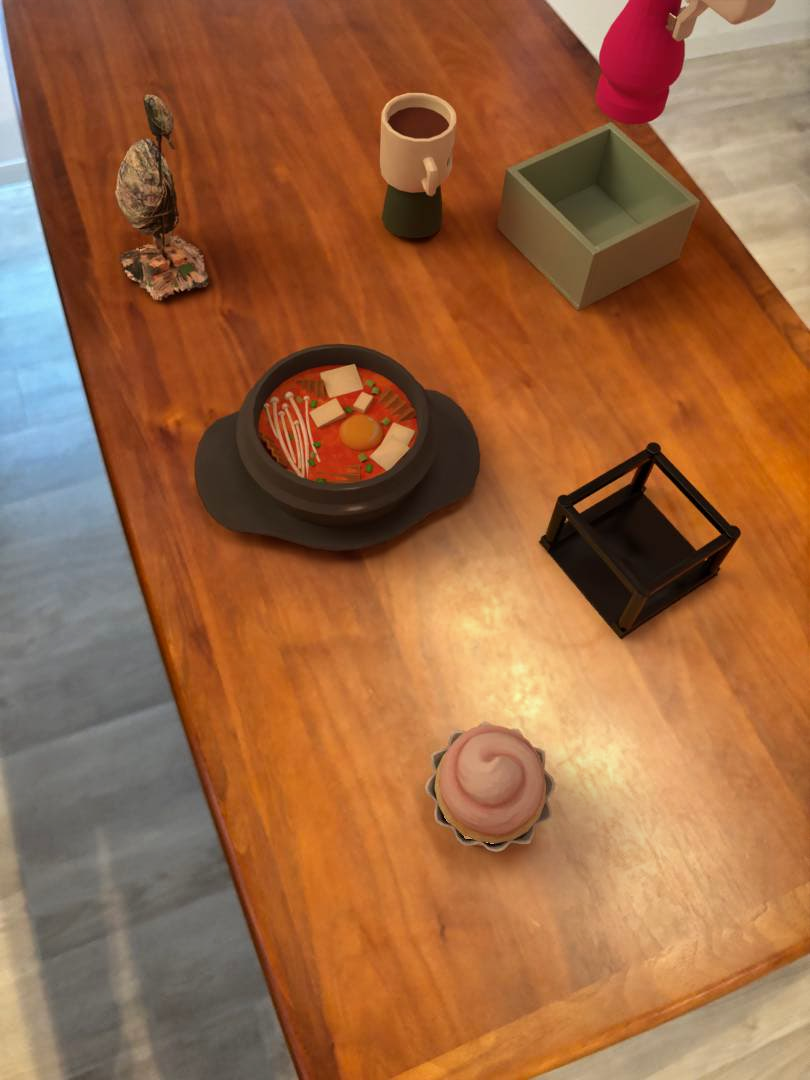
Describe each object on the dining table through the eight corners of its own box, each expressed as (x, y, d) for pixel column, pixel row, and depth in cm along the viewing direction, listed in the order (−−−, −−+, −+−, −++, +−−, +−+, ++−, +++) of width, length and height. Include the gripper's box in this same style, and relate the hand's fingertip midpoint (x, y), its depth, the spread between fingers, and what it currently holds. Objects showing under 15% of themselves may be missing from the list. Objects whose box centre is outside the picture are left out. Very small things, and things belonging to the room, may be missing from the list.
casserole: (208, 583, 83) (194, 532, 76) (187, 405, 92) (173, 344, 85) (499, 538, 87) (513, 485, 79) (452, 371, 96) (461, 309, 88)
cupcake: (537, 740, 78) (560, 693, 69) (551, 864, 73) (578, 831, 65) (417, 743, 77) (425, 697, 69) (423, 868, 73) (433, 835, 64)
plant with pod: (191, 216, 104) (159, 37, 87) (215, 295, 99) (186, 121, 82) (112, 231, 103) (63, 52, 85) (133, 312, 97) (85, 138, 80)
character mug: (459, 254, 103) (473, 148, 92) (393, 266, 102) (398, 160, 91) (429, 182, 108) (438, 74, 97) (365, 192, 107) (367, 84, 96)
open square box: (595, 181, 110) (611, 121, 103) (678, 258, 104) (701, 201, 98) (496, 227, 105) (505, 168, 99) (577, 311, 100) (593, 254, 94)
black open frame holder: (633, 486, 91) (654, 438, 84) (716, 577, 86) (746, 533, 80) (537, 544, 87) (552, 498, 81) (619, 641, 83) (642, 601, 76)
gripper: (839, -115, 68) (766, 70, 80) (641, -245, 76) (601, -59, 88) (773, -89, 66) (708, 96, 78) (576, -225, 74) (545, -38, 86)
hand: (650, 13), depth 83 cm, fingers closed on pepper mill, 5 cm apart
